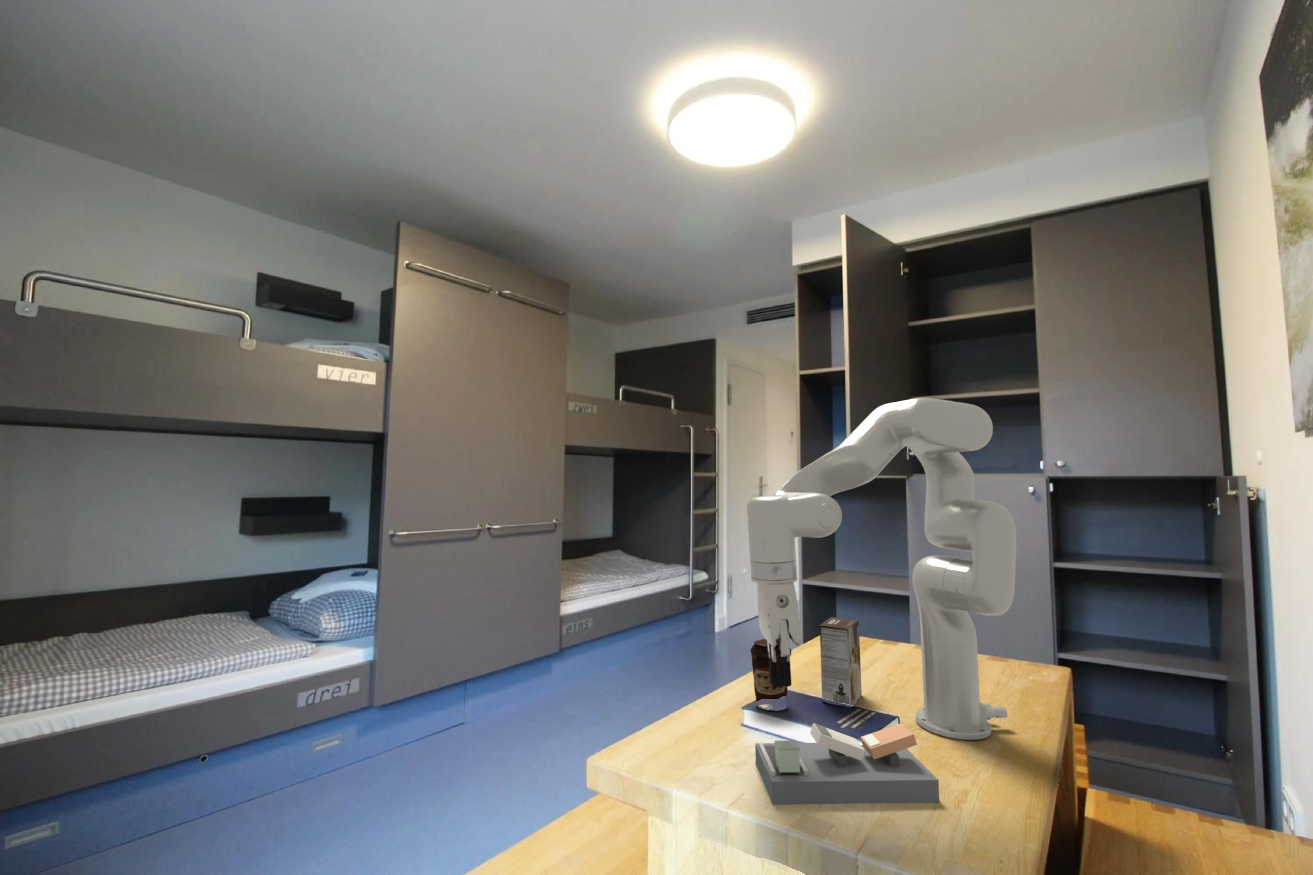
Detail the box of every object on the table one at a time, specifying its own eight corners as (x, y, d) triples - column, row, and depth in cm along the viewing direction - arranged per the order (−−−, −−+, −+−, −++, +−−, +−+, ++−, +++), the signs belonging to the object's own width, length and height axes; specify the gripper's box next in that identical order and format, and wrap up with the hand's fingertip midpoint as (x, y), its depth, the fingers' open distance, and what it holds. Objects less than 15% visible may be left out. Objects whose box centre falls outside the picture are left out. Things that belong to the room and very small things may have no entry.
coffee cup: (793, 717, 108) (792, 648, 109) (750, 713, 110) (749, 646, 111) (791, 700, 116) (790, 637, 118) (752, 697, 118) (751, 635, 119)
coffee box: (832, 689, 123) (830, 615, 124) (862, 695, 120) (859, 619, 121) (821, 702, 115) (818, 624, 117) (852, 709, 112) (850, 628, 113)
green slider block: (796, 763, 83) (795, 740, 83) (800, 772, 80) (799, 747, 81) (774, 764, 83) (774, 740, 83) (778, 772, 80) (778, 747, 81)
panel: (900, 760, 91) (899, 731, 91) (939, 801, 79) (937, 768, 79) (755, 762, 90) (755, 733, 90) (772, 803, 78) (771, 769, 79)
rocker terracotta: (904, 733, 87) (901, 722, 87) (917, 744, 83) (913, 733, 83) (863, 746, 87) (859, 735, 87) (874, 759, 83) (870, 747, 83)
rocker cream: (851, 748, 87) (855, 737, 87) (861, 760, 83) (865, 749, 83) (810, 732, 87) (813, 721, 87) (817, 744, 83) (821, 733, 83)
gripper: (809, 577, 84) (817, 701, 82) (784, 563, 99) (791, 667, 97) (760, 580, 84) (768, 704, 82) (743, 565, 99) (749, 670, 97)
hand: (780, 684), depth 90 cm, fingers closed
